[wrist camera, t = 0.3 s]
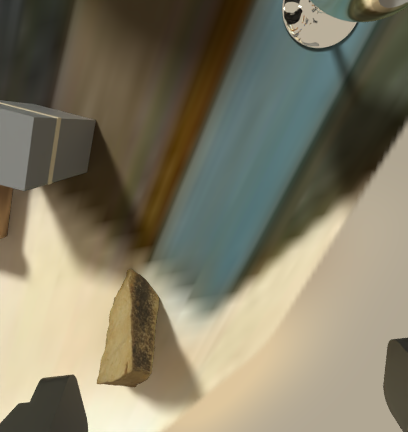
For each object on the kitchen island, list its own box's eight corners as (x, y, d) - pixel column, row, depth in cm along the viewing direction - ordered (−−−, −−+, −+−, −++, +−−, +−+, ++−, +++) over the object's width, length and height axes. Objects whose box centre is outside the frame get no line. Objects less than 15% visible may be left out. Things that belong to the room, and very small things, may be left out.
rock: (129, 408, 39) (199, 364, 36) (59, 428, 32) (137, 377, 29) (100, 313, 44) (159, 267, 41) (34, 313, 37) (98, 258, 34)
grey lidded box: (33, 103, 35) (-55, 93, 25) (96, 119, 35) (34, 116, 24) (26, 156, 36) (-61, 169, 26) (87, 172, 36) (24, 191, 26)
